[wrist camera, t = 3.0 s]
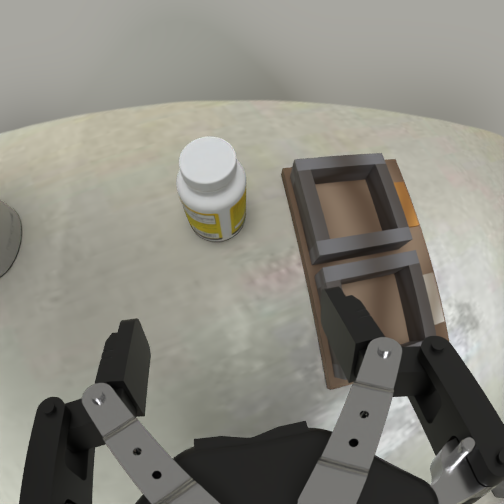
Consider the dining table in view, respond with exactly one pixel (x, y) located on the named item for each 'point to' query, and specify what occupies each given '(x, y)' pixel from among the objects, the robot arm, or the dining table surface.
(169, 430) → the dining table surface
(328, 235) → the socket board
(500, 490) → the coffeepot
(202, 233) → the supplement bottle
